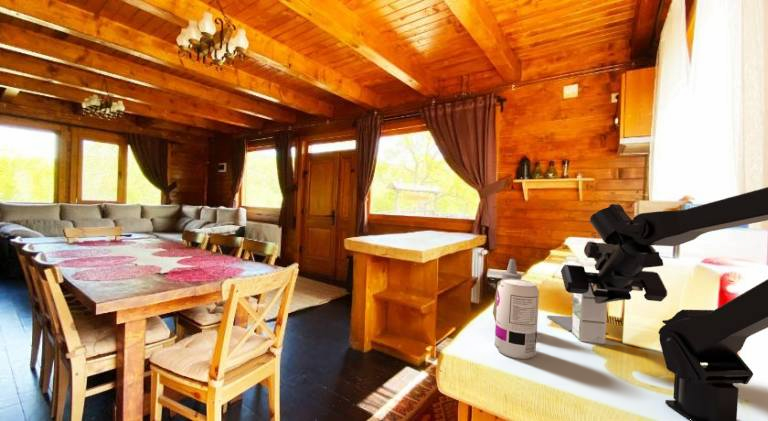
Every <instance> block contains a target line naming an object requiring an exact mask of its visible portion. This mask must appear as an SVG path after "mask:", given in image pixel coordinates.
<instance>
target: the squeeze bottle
mask: <svg viewBox="0 0 768 421" xmlns="http://www.w3.org/2000/svg"><path fill="white" fill-rule="evenodd" d="M502 279H520V280H522V274H521V273H518V270H517V264H516V259H514V258H510V259H509V261H508V265H507V269H506V271H502V272H501V279H500V280H499V281H497V284H496V290H495V295H494V296H495V297H494V303H493V310H492V315H493V318H494V321H495V324H496V311H497V293H498V286H499V284H500V283H501V280H502Z"/></svg>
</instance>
